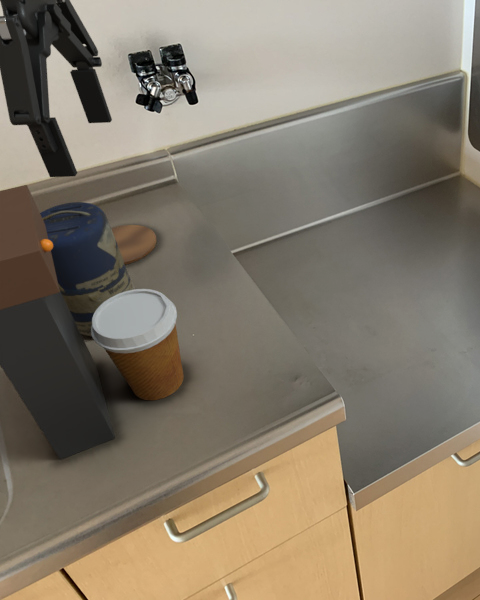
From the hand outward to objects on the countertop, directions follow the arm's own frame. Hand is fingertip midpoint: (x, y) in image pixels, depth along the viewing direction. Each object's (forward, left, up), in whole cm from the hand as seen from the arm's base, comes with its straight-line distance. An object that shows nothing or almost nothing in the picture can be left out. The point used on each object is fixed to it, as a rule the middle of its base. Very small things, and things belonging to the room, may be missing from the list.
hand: (83, 146), depth 73 cm
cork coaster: (-14, +10, -25) cm, 30 cm away
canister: (-3, -4, -26) cm, 26 cm away
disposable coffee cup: (+12, -10, -26) cm, 30 cm away
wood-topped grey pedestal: (+8, -17, -25) cm, 32 cm away
